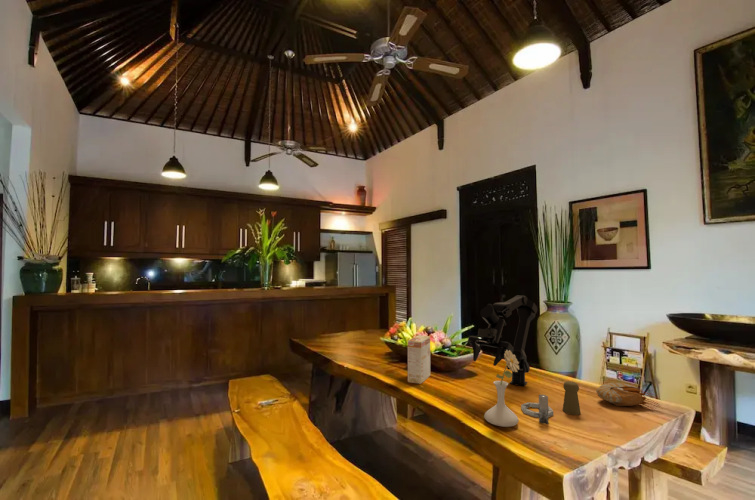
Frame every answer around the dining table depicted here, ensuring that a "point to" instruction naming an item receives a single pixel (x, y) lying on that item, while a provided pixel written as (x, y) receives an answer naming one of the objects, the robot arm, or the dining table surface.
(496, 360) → the robot arm
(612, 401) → the nautilus
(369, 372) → the dining table surface
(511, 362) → the flower in vase
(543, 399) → the octagon frame
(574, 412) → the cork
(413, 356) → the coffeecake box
